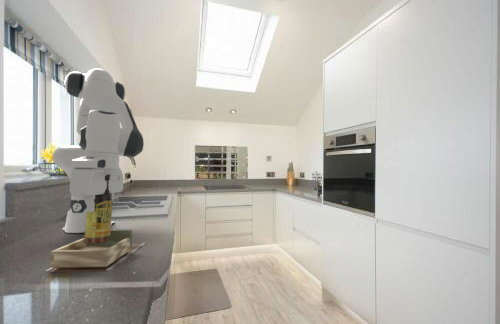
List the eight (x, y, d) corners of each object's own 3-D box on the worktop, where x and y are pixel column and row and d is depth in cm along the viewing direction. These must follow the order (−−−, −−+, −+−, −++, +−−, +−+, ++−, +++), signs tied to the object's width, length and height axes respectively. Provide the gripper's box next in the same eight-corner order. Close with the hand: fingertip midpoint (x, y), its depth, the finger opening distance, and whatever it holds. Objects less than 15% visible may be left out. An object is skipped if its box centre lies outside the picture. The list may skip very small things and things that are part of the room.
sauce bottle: (97, 245, 62) (100, 174, 63) (78, 244, 63) (82, 174, 64) (115, 239, 68) (118, 174, 69) (98, 238, 70) (101, 174, 71)
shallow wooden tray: (85, 252, 71) (87, 229, 71) (131, 252, 72) (132, 229, 72) (49, 271, 57) (50, 242, 57) (105, 270, 58) (107, 242, 58)
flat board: (99, 247, 80) (99, 243, 80) (145, 246, 81) (145, 242, 81) (44, 275, 57) (45, 270, 57) (109, 274, 58) (109, 269, 58)
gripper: (110, 164, 77) (108, 204, 77) (65, 160, 57) (62, 215, 56) (129, 164, 78) (127, 205, 77) (91, 161, 57) (88, 215, 57)
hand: (99, 209), depth 66 cm, fingers closed on sauce bottle, 6 cm apart
